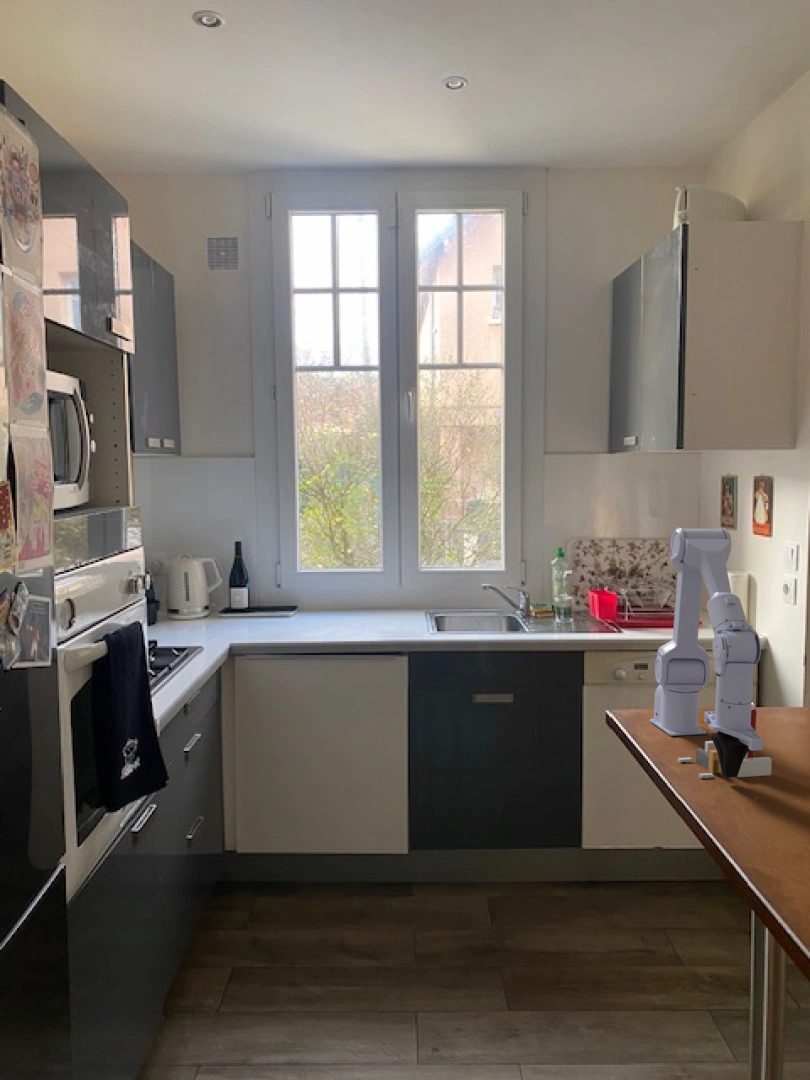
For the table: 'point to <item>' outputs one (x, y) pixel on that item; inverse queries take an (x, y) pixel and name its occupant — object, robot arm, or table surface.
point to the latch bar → (708, 759)
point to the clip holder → (749, 764)
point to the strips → (702, 775)
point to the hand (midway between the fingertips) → (729, 776)
